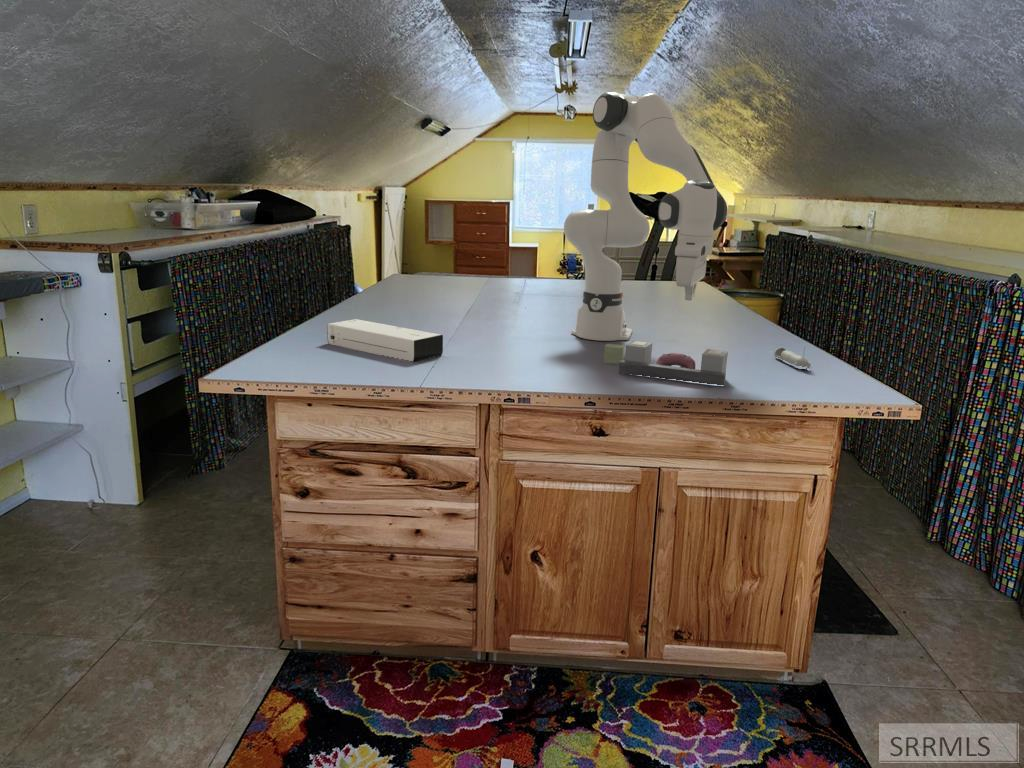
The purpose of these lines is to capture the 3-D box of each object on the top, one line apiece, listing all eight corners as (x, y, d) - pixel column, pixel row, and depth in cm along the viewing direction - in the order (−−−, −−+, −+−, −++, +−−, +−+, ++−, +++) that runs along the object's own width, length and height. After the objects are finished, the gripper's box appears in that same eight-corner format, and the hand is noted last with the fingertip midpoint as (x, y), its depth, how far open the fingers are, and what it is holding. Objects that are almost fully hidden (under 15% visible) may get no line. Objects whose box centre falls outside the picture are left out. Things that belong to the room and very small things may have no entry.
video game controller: (694, 384, 184) (697, 357, 185) (693, 379, 180) (697, 352, 181) (654, 379, 187) (658, 353, 188) (653, 375, 183) (656, 348, 184)
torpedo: (768, 358, 209) (771, 336, 207) (784, 358, 210) (787, 336, 208) (800, 374, 192) (803, 349, 190) (817, 374, 192) (820, 349, 191)
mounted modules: (631, 367, 192) (633, 339, 190) (724, 379, 183) (727, 350, 181) (623, 373, 186) (626, 344, 184) (720, 385, 177) (723, 355, 175)
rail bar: (620, 372, 187) (620, 359, 186) (724, 386, 176) (725, 373, 175) (617, 374, 184) (618, 361, 184) (722, 388, 174) (724, 375, 173)
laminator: (442, 356, 199) (443, 334, 198) (411, 364, 190) (411, 341, 188) (356, 339, 218) (356, 318, 217) (324, 345, 209) (323, 324, 207)
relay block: (605, 359, 201) (606, 343, 199) (623, 361, 199) (624, 345, 198) (603, 363, 197) (604, 346, 196) (622, 364, 196) (623, 348, 194)
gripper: (690, 241, 197) (685, 292, 201) (673, 249, 180) (668, 304, 184) (714, 243, 195) (708, 294, 199) (699, 251, 177) (693, 307, 181)
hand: (689, 299), depth 191 cm, fingers closed
